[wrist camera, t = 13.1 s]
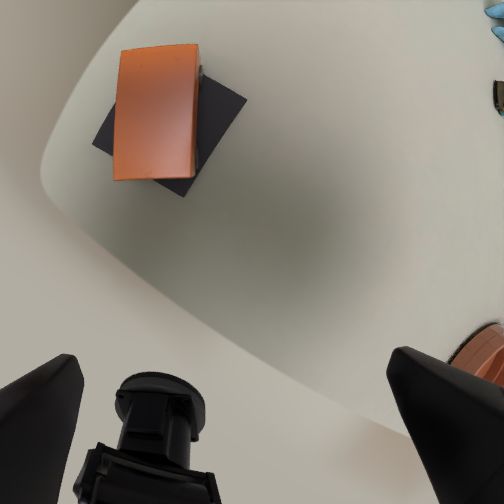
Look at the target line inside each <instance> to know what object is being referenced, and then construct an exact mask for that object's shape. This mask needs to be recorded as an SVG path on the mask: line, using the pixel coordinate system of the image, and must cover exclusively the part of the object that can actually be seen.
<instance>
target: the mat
mask: <svg viewBox="0 0 504 504" xmlns="http://www.w3.org/2000/svg"><path fill="white" fill-rule="evenodd" d="M246 101H247V99H245V98H244V97H242V96H240V95H239V94H237V93H235V92H234V91H232V90H230V89H228V88H227V87H225V86H223V85H221V84H220V83H218V82H216V81H214V80H213V79H211V78H209V77H207V76H205V75H203V83H202V87H201V88H198V106H197V129H196V144H198V145H199V150H200V157H199V168H198V169H195V176H193V177H191V178H169V179H153V180H154V181H156V182H158V183H159V184H161V185H163V186H164V187H166V188H168V189H169V190H171V191H173V192H175V193H176V194H178V195H180V196H181V197H184V196H185V195H186V193H187V191H188V190H189V188H190V186H191V185H192V183H193V181H194V180H195V178H196V176H197V175H198V173H199V172H200V170H201V168H202V167H203V165H204V164H205V162H206V160H207V159H208V157H209V156H210V154H211V153H212V151H213V150H214V148H215V147H216V145H217V143H218V142H219V140H220V139H221V137H222V136H223V134H224V133H225V131H226V130H227V129H228V127H229V126H230V124H231V123H232V121H233V120H234V118H235V117H236V115H237V114H238V113H239V111H240V110H241V108H242V107H243V105H244V104H245V103H246ZM115 106H116V102H115V104H114V105H113V107H112V109H111V110H110V112H109V114H108V116H107V117H106V119H105V121H104V122H103V124H102V126H101V128H100V130H99V131H98V133H97V135H96V137H95V139H94V141H93V143H92V145H94V146H96V147H98V148H99V149H101V150H103V151H105V152H106V153H108V154H110V155H111V156H113V153H114V122H115Z"/></svg>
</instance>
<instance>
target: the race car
mask: <svg viewBox="0 0 504 504" xmlns="http://www.w3.org/2000/svg"><path fill="white" fill-rule="evenodd" d="M494 95H495V101H496V108H497V109H498V110H499V111H500V114H501V115H503V116H504V82H503V81H496V80H495V87H494ZM498 105H499V108H498Z"/></svg>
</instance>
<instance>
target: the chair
mask: <svg viewBox="0 0 504 504" xmlns="http://www.w3.org/2000/svg"><path fill="white" fill-rule="evenodd" d="M485 11H486V13H487V14H488V15H489V16H490V17H493V18H504V2H502V3H500V4H498V5H496V6H494V7H492V8H488V9H485ZM492 30H493V32H494V33H495V34H496V35H497V36H498V37H499V38H500V39H502V40H503V41H504V28H503V27H499V26H498V27H493V28H492Z"/></svg>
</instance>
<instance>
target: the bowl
mask: <svg viewBox="0 0 504 504" xmlns="http://www.w3.org/2000/svg"><path fill="white" fill-rule="evenodd" d="M450 365H452V366H454V367H457V368H459V369H461V370H464V371H466V372H469V373H471V374H473V375H476V376H478V377H481V378H483V379H485V380H488V381H490V382H493V383H495V384H498V385H499V386H503V387H504V326H502V325H499V324H495V325H491V326H488V327H487V328H486V329H484V330H483V331H481V332H480V333H478V334H477V335H476V336H475V337H474V338H473V339H471V340H470V341H469V342H468V343H467V344H466V345H465V346H464V347H463V348H462V350H461V351H460V352H459V353H458V354H457V356H456V357H455V358H454V360H453V361H452V362H451V364H450Z"/></svg>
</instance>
